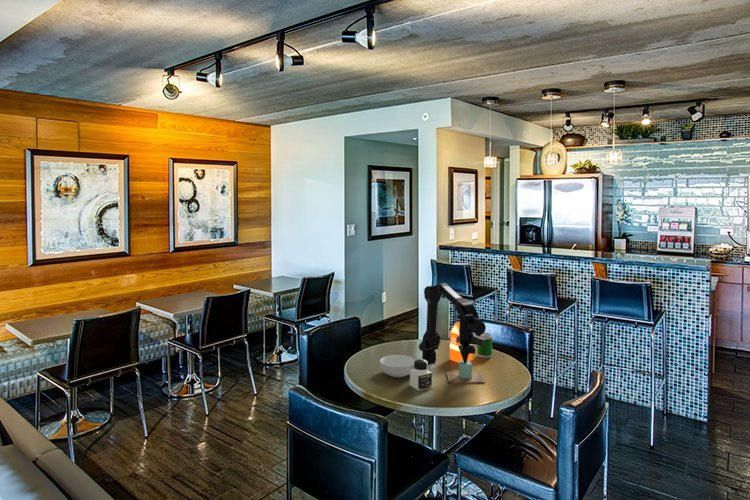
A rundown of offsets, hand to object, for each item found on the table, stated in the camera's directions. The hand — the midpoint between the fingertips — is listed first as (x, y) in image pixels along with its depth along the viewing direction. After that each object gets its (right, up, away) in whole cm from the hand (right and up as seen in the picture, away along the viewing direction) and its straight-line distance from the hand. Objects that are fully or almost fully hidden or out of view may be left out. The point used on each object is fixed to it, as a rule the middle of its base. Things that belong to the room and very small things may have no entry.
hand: (465, 362), depth 229 cm
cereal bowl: (-31, -8, +7) cm, 32 cm away
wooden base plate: (0, -8, +1) cm, 8 cm away
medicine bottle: (-21, -9, -9) cm, 25 cm away
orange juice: (+3, -5, +28) cm, 28 cm away
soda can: (+16, -4, +32) cm, 36 cm away
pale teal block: (0, -7, +1) cm, 7 cm away
